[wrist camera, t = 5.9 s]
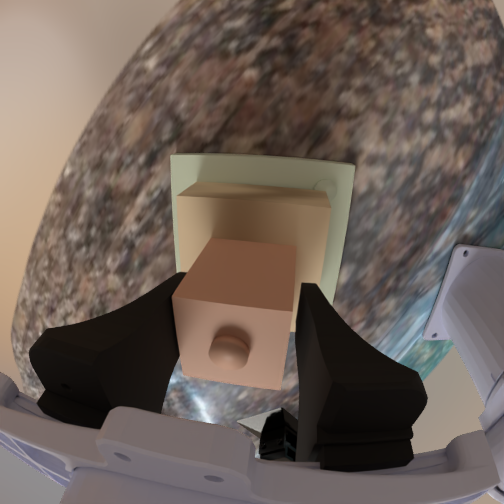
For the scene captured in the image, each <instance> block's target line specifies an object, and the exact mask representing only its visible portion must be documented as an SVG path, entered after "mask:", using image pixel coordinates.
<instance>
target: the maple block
mask: <svg viewBox="0 0 504 504" xmlns="http://www.w3.org/2000/svg"><path fill="white" fill-rule="evenodd" d="M176 197H177V219H178V236H179V251H180V265H181V272H188V271H189V269H190V268H191V266H192V265H193V263H194V262H195V260H196V259H197V257H198V256H199V254H200V253H201V251H202V250H203V249H204V247H205V246H206V244H207V243H208V241H209V240H210V238H219V239H229V240H240V241H250V242H261V243H271V244H281V245H291V246H296V265H295V284H294V301H293V314H292V321H291V328H290V331H291V332H295V327H296V316H297V309H298V302H299V296H300V288H301V282H305V283H316V284H317V285H318V287H319V286H320V281H321V275H322V269H323V262H324V256H325V250H326V243H327V236H328V229H329V222H330V214H331V206H330V202H329V199H328V196H327V193H326V191H318V190H308V189H298V188H287V187H276V186H263V185H250V184H234V183H217V182H195V183H194V184H192V185H191V186H190V187H188V188H187V189H185V190H184V191H183V192H181V193H180V194H178V195H177V196H176Z"/></svg>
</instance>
